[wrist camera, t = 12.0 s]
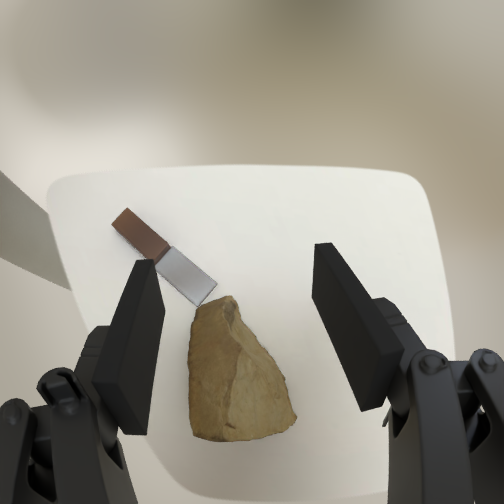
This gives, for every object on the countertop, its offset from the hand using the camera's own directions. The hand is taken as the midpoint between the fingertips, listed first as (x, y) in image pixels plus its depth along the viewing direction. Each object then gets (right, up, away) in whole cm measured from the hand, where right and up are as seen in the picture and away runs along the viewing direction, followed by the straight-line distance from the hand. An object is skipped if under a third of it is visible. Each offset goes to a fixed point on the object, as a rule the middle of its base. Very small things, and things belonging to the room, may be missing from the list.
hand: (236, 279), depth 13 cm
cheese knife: (-7, +1, +12) cm, 14 cm away
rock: (0, -7, +10) cm, 12 cm away
